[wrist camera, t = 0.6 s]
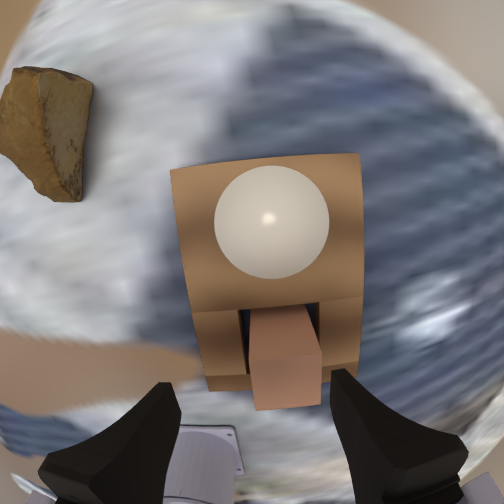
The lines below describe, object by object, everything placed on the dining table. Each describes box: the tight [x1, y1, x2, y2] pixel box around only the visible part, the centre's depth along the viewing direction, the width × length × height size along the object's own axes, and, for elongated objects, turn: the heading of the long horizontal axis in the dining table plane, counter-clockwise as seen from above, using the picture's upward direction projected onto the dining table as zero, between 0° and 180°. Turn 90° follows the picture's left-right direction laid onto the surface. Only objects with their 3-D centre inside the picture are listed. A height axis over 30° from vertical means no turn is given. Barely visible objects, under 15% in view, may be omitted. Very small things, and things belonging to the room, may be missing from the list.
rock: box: [0, 66, 93, 202], centre depth 16 cm, size 11×9×10 cm
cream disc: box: [214, 166, 329, 279], centre depth 18 cm, size 7×7×1 cm
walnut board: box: [170, 153, 364, 392], centre depth 20 cm, size 17×12×2 cm
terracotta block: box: [249, 304, 322, 411], centre depth 19 cm, size 4×4×7 cm
